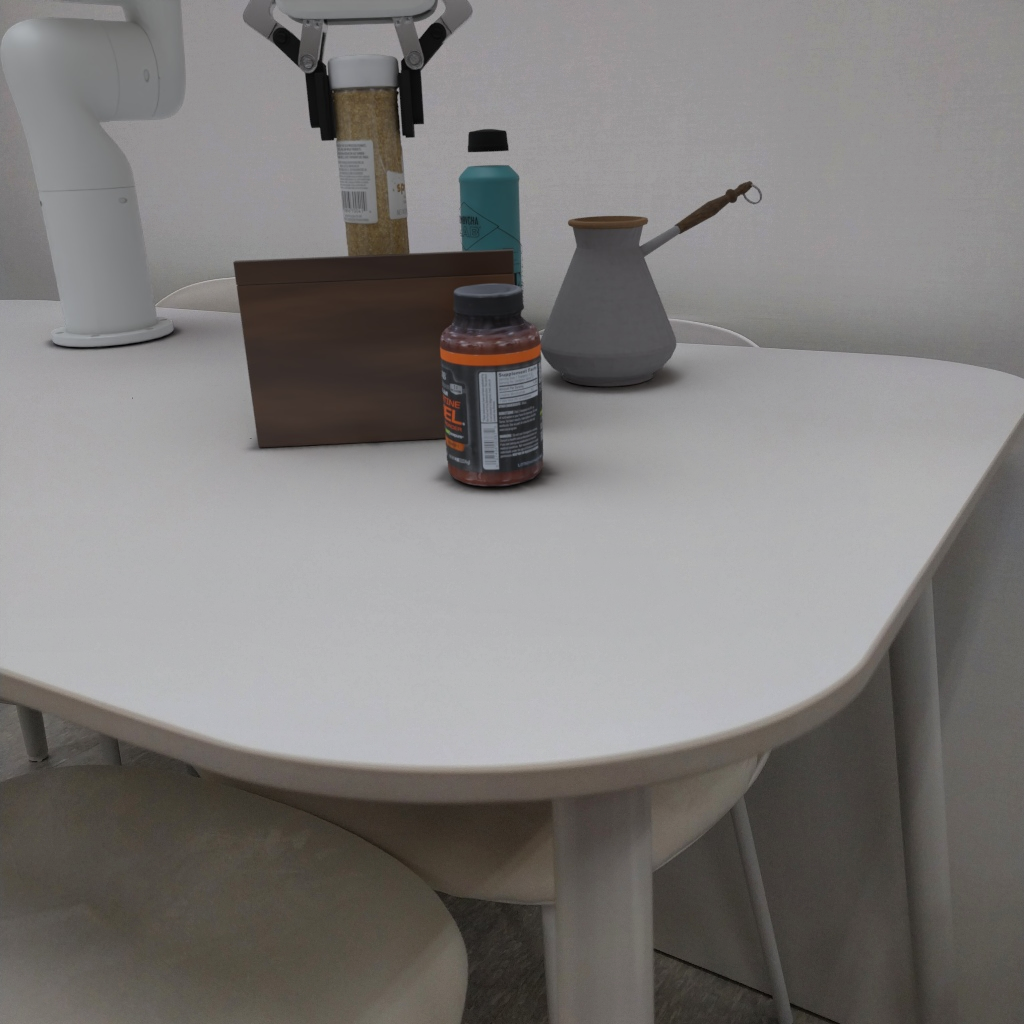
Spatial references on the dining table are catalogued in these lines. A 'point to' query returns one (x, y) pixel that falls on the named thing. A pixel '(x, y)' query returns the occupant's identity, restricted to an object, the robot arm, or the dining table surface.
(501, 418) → the supplement bottle
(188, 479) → the dining table surface
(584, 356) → the coffee pot
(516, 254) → the beverage bottle
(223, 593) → the dining table surface
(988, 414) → the dining table surface
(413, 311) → the shelf
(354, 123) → the spice jar
